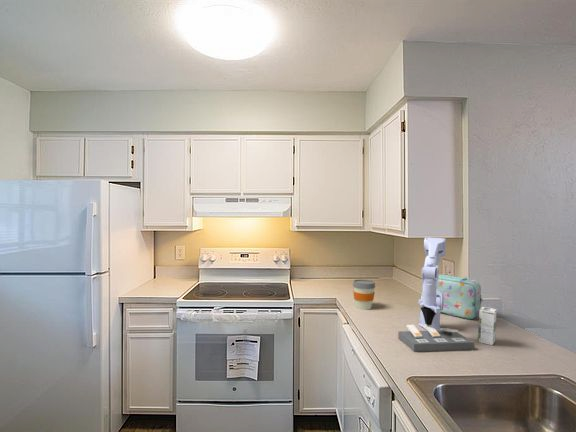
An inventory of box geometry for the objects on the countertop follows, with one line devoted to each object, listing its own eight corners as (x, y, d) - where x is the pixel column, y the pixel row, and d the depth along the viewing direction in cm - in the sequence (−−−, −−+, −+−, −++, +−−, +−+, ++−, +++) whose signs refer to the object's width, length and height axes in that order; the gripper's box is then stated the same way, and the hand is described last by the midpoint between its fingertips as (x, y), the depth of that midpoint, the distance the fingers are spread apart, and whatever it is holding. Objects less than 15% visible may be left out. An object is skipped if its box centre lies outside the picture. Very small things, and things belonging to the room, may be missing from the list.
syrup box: (480, 338, 149) (481, 306, 149) (495, 342, 145) (496, 308, 145) (477, 342, 145) (478, 308, 145) (493, 345, 141) (494, 311, 141)
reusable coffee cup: (373, 311, 186) (374, 284, 186) (351, 309, 190) (351, 282, 190) (375, 305, 198) (376, 280, 197) (354, 303, 202) (354, 278, 201)
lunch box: (484, 318, 178) (485, 278, 177) (477, 322, 171) (479, 280, 170) (433, 307, 197) (434, 270, 197) (426, 310, 190) (427, 272, 190)
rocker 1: (406, 326, 147) (406, 324, 147) (413, 326, 148) (413, 324, 147) (415, 337, 140) (415, 335, 139) (422, 337, 140) (422, 335, 140)
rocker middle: (423, 326, 148) (423, 324, 148) (430, 325, 149) (430, 324, 148) (433, 337, 141) (433, 335, 140) (440, 337, 141) (440, 335, 141)
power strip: (398, 338, 148) (398, 329, 147) (453, 336, 151) (453, 328, 151) (414, 351, 134) (414, 342, 134) (474, 349, 137) (474, 340, 137)
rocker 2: (440, 330, 149) (440, 328, 149) (447, 330, 150) (447, 328, 150) (451, 332, 141) (451, 329, 142) (458, 331, 142) (458, 329, 142)
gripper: (412, 289, 154) (411, 319, 154) (429, 298, 139) (428, 330, 140) (427, 289, 155) (426, 318, 155) (445, 297, 140) (444, 330, 140)
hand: (428, 324), depth 147 cm, fingers closed
